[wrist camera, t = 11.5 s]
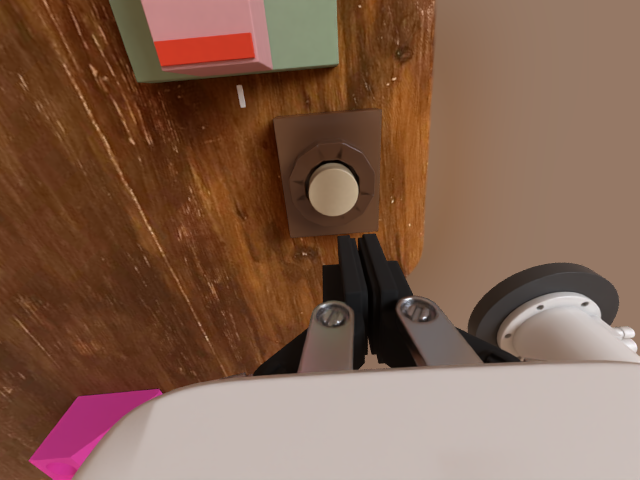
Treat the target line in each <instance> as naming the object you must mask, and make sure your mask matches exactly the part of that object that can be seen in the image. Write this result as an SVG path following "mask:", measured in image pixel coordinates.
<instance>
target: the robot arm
mask: <svg viewBox="0 0 640 480" xmlns="http://www.w3.org/2000/svg"><path fill="white" fill-rule="evenodd" d="M338 257H339V264H337V265H323V303H321V304H319V305H318V306H317V307H316V308H315V309H314V310H313V312H312V315H311V319H310V323H309V327H308V328H307V329H306V330H305V331H304V332H302V333H301V334H300V335H299V336H297V337H296V338H295V339H294V340H292V341H291V342H290V343H288V344H287V345H286V346H285V347H283V348H282V349H281V350H280V351H278V352H277V353H276V354H274V355H273V356H272V357H271V358H269V359H268V360H267V361H266V362H264V363H263V364H262V365H261V366H260V367H259V368H258V369H257V370H256V371H255V372H254V374H250V375H247V376H246V373H245V372H244V373H240V374H236V375H232V376H228V377H225V378H221V379H217V380H211V381H206V382H201V383H195V384H192V385H188V386H185V387H181V388H178V389H174V390H172V391H169V392H167V393H164V394H162V395H159V396H157V397H154V398H152V399H150V400H148V401H146V402H144V403H143V404H141V405H139V406H137V407H136V408H134V409H132V410H131V411H130V412H128V413H127V414H126V415H124V416H123V417H122V418H121V419H120V420H119V421H118V422H116V423H115V424H114V425H113V426H112V427H111V429H110V430H109V431H108V432H107V433H106V434H105V435H104V436H103V438H102V439H101V440H100V441H99V442H98V444H97V445H96V446H95V447H94V449H93V450H92V451H91V453H90V454H89V455H88V457H87V458H86V459H85V461H84V462H83V463H82V465H81V466H80V467H79V469H78V470H77V472H76V473H75V475H74V476H73V477H72V479H71V480H640V356H639V355H637V354H636V353H635V352H636V351H637V345H636V343H635V342H634V341H633V340H632V339H630V338H633V337H634V336H635V332H634V330H633V329H632V328H630V327H627V326H625V327H615V328H612V327H610V326H609V325H608V324H607V323H605V322H604V321H603V320H602V319H601V312H600V309H599V307H598V306H597V304H596V303H594V302H593V301H592V300H591V299H589V298H588V297H586V296H584V295H582V294H579V293H575V292H555V293H550V294H545V295H542V296H539V297H536V298H534V299H532V300H530V301H528V302H526V303H524V304H522V305H521V306H519V307H518V308H516V309H515V310H514V311H513V312H511V313H510V314H509V315H508V316H507V317H506V319H505V320H504V321H503V323H502V324H501V326H500V328H499V330H498V333H497V343H498V346H499V348H498V347H496V346H494V345H492V344H490V343H488V342H486V341H484V340H482V339H479V338H477V337H475V336H473V335H471V334H469V333H467V332H465V331H463V330H461V329H458V328H456V327H455V326H454V325H453V324H452V323H451V321H450V320H449V319H448V318H447V316H446V315H445V314H444V313H443V311H442V310H441V309H440V308H439V306H437V305H436V304H435V303H434V302H433V301H431V300H429V299H427V298H424V297H420V296H413V293H412V291H411V289H410V287H409V285H408V283H407V281H406V279H405V277H404V274H403V272H402V270H401V268H400V266H399V264H398V262H397V261H386V258H385V256H384V253H383V251H382V248H381V246H380V243H379V241H378V239H377V236H376V234H363V236H362V238H358V249H357V245H356V241H355V238H350V235H347V236H338ZM368 340H369V344H370V350H371V353H372V354H373V355H374V354H377V359H378V363H379V364H380V363H385V364H387V365H388V366H389V367H391V368H386V369H385V368H383V369H364V370H358V369H359V368H360V367H361V366H362V365H363V364H364V363H365V355H367V354H368Z"/></svg>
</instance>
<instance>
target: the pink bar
mask: <svg viewBox="0 0 640 480" xmlns="http://www.w3.org/2000/svg"><path fill="white" fill-rule="evenodd" d="M141 3H142V7H143V10H144V13H145V16H146V20H147V23H148V26H149V29H150V33H151V36H152V39H153V42H154V46H155V49H156V52H157V56H158V59H159V62H160V65H161V69H162V71H164V72H172V73H179V74H187V75H194V76H201V77H202V76H213V75H224V74H235V73H246V72H256V71H267V70H273V65H272V58H271V51H270V44H269V37H268V29H267V22H266V15H265V8H264V0H141Z"/></svg>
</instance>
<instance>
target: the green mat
mask: <svg viewBox="0 0 640 480" xmlns="http://www.w3.org/2000/svg"><path fill="white" fill-rule="evenodd" d="M109 3H110V6H111V8H112V11H113V14H114V17H115V20H116V23H117V26H118V28H119V31H120V34H121V37H122V40H123V43H124V46H125V49H126V51H127V54H128V57H129V60H130V63H131V66H132V69H133V71H134V74H135V77H136V80H137V82H140V83H160V82H171V81H182V80H193V79H204V78H215V77H226V76H237V75H249V74H260V73H271V72H282V71H293V70H304V69H315V68H326V67H336V66H337V65H338V63H339V61H338V34H337V7H336V0H264V8H265V15H266V22H267V29H268V37H269V44H270V51H271V58H272V65H273V70H267V71H256V72H246V73H235V74H224V75H213V76H202V77H201V76H194V75H187V74H179V73H172V72H164V71H162V69H161V65H160V62H159V59H158V56H157V52H156V49H155V46H154V42H153V39H152V36H151V33H150V29H149V26H148V23H147V20H146V16H145V13H144V10H143V7H142V3H141V0H109ZM236 86H237V91H238V96H239V102H240V107H241V108H242V107H246V104H245V99H244V94H243V88H242V85H236Z"/></svg>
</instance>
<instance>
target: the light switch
mask: <svg viewBox="0 0 640 480" xmlns="http://www.w3.org/2000/svg"><path fill="white" fill-rule="evenodd" d="M381 116H382V110H381V109H378V108H367V109H355V110H344V111H332V112H321V113H309V114H298V115H286V116H277V117H275V118H274V119H273V123H274V130H275V137H276V144H277V150H278V157H279V164H280V171H281V177H282V184H283V191H284V198H285V204H286V211H287V218H288V225H289V231H290V237H291V238H296V237H309V236H321V235H334V234H347V233H360V232H372V231H378V217H379V183H380V149H381ZM327 163H338V164H341V165H343V166H345V167H347V168H348V169H349V170H350V171H351V173H352V174H353V176H354V178H355V180H356V182H357V185H358V198H357V201H356V203H355V204H354V206H353V207H352V208H351V209H350V210H349V211H348V212H346V213H344V214H342V215H339V216H327V215H323V214H321V213H319V212H318V211H317V210H316V209H315V208H314V207H313V206H312V204H311V202H310V200H309V194H308V191H309V181H310V178H311V176H312V174H313V173H314V171H315V170H316V169H317V168H319V167H320V166H322V165H324V164H327Z"/></svg>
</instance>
